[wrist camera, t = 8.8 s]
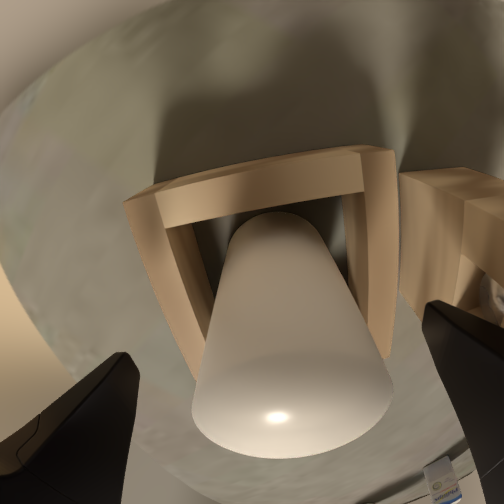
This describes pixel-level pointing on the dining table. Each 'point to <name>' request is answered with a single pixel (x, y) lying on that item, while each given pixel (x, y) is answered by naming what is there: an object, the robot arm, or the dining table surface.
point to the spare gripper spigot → (286, 348)
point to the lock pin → (491, 300)
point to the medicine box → (442, 482)
